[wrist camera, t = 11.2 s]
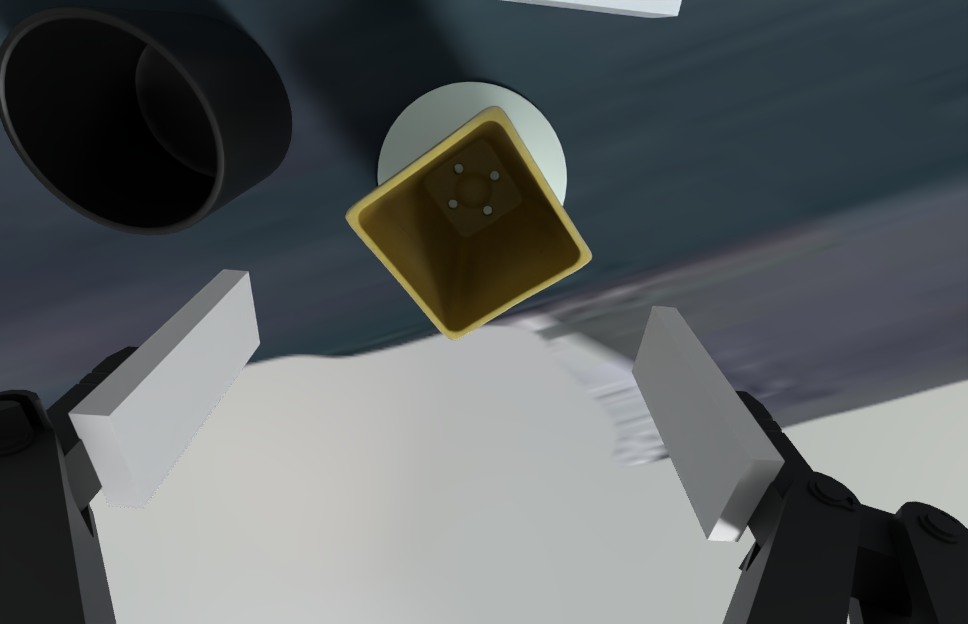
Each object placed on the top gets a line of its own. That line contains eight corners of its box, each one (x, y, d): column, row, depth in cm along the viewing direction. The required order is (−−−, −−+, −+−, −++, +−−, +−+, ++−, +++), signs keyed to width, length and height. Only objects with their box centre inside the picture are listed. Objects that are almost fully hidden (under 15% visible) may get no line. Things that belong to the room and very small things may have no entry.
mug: (58, 7, 26) (-123, -4, 18) (280, 18, 26) (194, 11, 19) (117, 181, 31) (-8, 230, 23) (305, 188, 31) (244, 240, 23)
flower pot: (494, 81, 28) (498, 100, 20) (568, 204, 31) (596, 261, 23) (377, 168, 30) (339, 215, 22) (458, 273, 34) (450, 345, 26)
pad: (379, 261, 34) (378, 263, 33) (377, 70, 28) (376, 71, 27) (548, 277, 34) (549, 279, 34) (583, 93, 28) (584, 94, 28)
